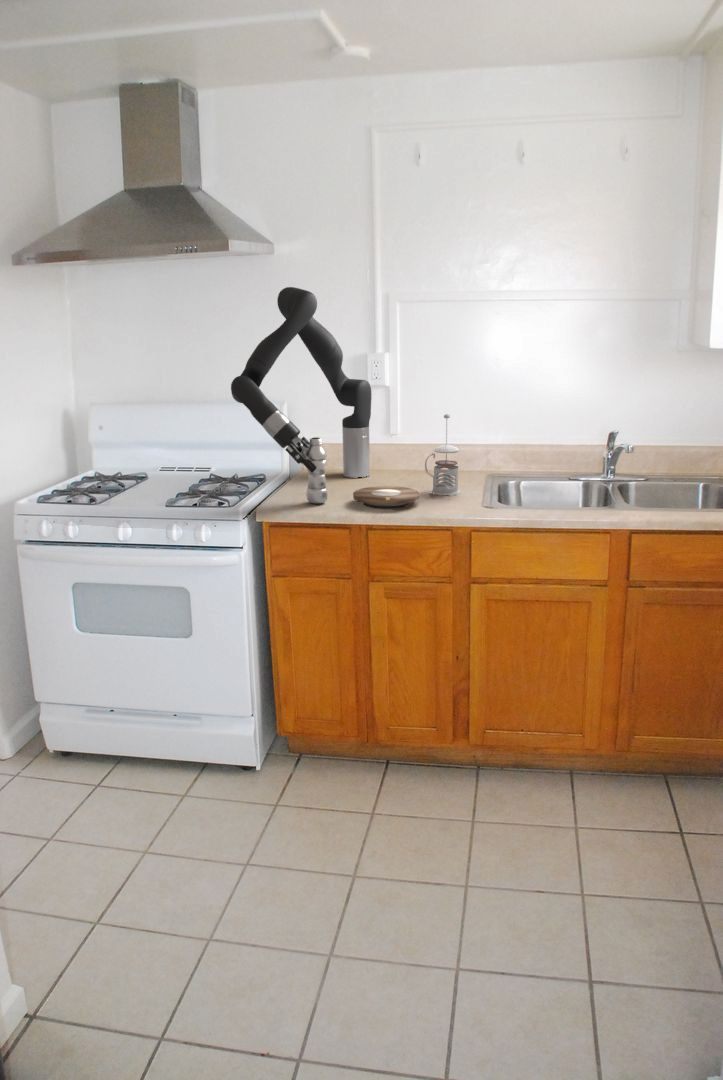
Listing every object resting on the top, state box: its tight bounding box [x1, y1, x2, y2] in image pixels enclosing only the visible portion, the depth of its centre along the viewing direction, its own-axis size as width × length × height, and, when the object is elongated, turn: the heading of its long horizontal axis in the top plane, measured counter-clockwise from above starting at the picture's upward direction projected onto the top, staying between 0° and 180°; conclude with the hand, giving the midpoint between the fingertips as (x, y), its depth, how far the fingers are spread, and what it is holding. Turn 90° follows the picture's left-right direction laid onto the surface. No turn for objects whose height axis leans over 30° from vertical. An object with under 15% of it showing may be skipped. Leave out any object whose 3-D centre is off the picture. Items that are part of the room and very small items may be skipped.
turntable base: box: [362, 503, 410, 510], centre depth 269 cm, size 14×14×2 cm
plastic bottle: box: [306, 436, 328, 505], centre depth 268 cm, size 6×7×20 cm
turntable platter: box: [352, 485, 420, 505], centre depth 269 cm, size 20×20×1 cm
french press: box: [424, 413, 461, 496], centre depth 280 cm, size 10×12×25 cm
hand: (318, 467), depth 268 cm, fingers open, 8 cm apart
